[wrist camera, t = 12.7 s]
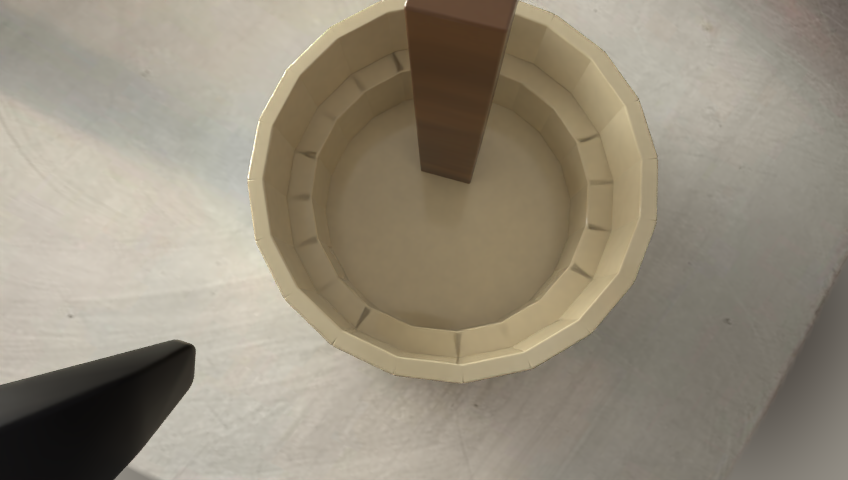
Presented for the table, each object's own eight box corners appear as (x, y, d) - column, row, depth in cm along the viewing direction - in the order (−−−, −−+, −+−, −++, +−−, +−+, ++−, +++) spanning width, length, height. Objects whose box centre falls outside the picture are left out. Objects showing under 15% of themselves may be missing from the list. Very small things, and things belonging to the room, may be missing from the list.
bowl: (531, 420, 19) (568, 459, 14) (244, 284, 20) (174, 270, 15) (642, 135, 21) (713, 72, 16) (376, 30, 23) (357, -61, 17)
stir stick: (469, 184, 20) (507, 32, 10) (420, 171, 21) (402, 7, 10) (483, 137, 21) (533, -60, 10) (434, 125, 21) (432, -83, 10)
